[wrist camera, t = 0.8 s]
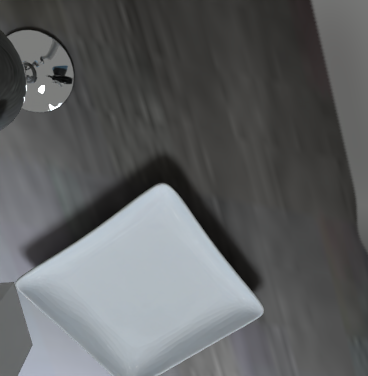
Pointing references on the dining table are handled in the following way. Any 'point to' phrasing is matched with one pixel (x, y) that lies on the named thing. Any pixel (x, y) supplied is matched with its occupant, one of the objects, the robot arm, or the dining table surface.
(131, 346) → the salad plate
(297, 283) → the dining table surface
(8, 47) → the wineglass
